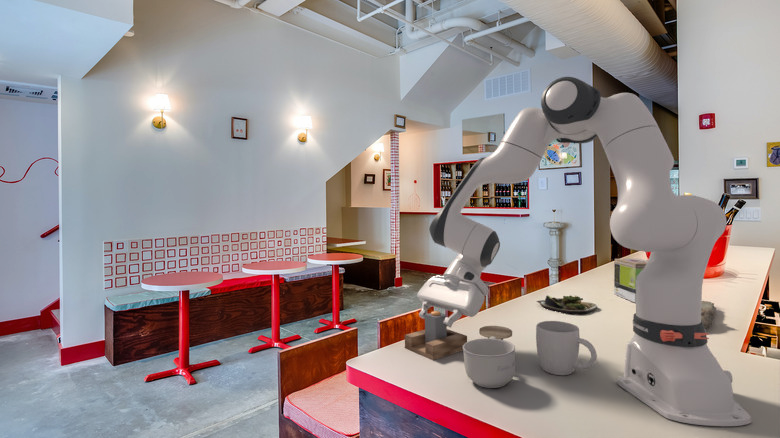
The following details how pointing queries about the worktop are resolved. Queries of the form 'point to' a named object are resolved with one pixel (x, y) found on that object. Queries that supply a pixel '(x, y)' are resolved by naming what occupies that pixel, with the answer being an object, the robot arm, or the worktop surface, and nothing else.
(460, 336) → the notch board
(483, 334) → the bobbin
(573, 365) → the mug
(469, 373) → the teacup
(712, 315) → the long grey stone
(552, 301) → the salad plate
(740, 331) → the worktop surface
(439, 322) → the grey knobbed block
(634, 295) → the tea box
